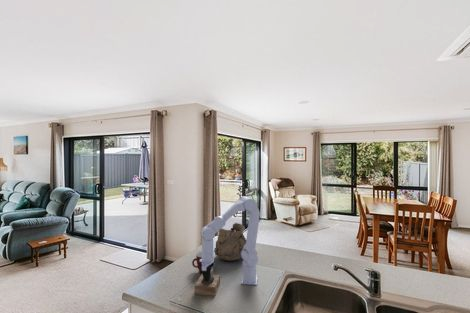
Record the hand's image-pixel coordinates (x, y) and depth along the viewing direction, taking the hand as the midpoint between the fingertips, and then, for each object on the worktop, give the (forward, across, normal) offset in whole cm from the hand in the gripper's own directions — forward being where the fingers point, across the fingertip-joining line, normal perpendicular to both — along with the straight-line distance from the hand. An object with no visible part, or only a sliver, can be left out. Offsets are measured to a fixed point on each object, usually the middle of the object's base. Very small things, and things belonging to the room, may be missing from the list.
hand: (207, 278), depth 116 cm
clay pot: (+5, -38, +6) cm, 39 cm away
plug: (+2, 0, 0) cm, 2 cm away
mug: (+5, -16, -8) cm, 19 cm away
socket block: (+5, 0, 0) cm, 5 cm away
